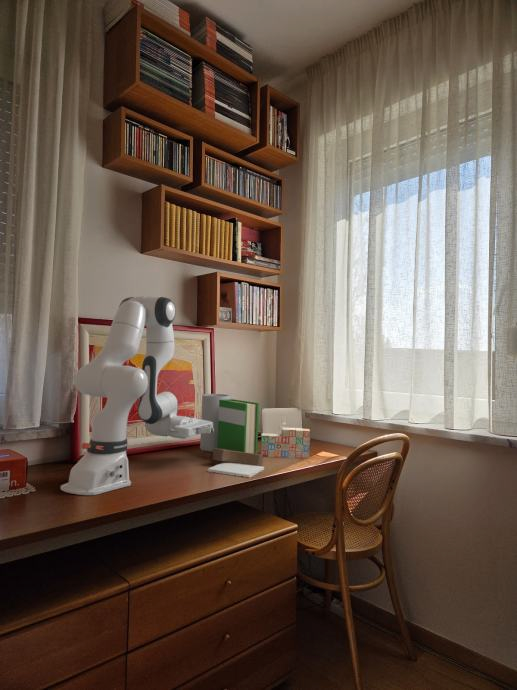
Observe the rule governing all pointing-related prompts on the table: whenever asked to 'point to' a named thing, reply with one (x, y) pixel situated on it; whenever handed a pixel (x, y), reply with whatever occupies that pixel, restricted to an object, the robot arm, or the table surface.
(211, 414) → the cylinder vase
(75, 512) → the table surface
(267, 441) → the stack of blocks
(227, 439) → the hardback book
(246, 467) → the white flat panel
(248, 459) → the wooden block
